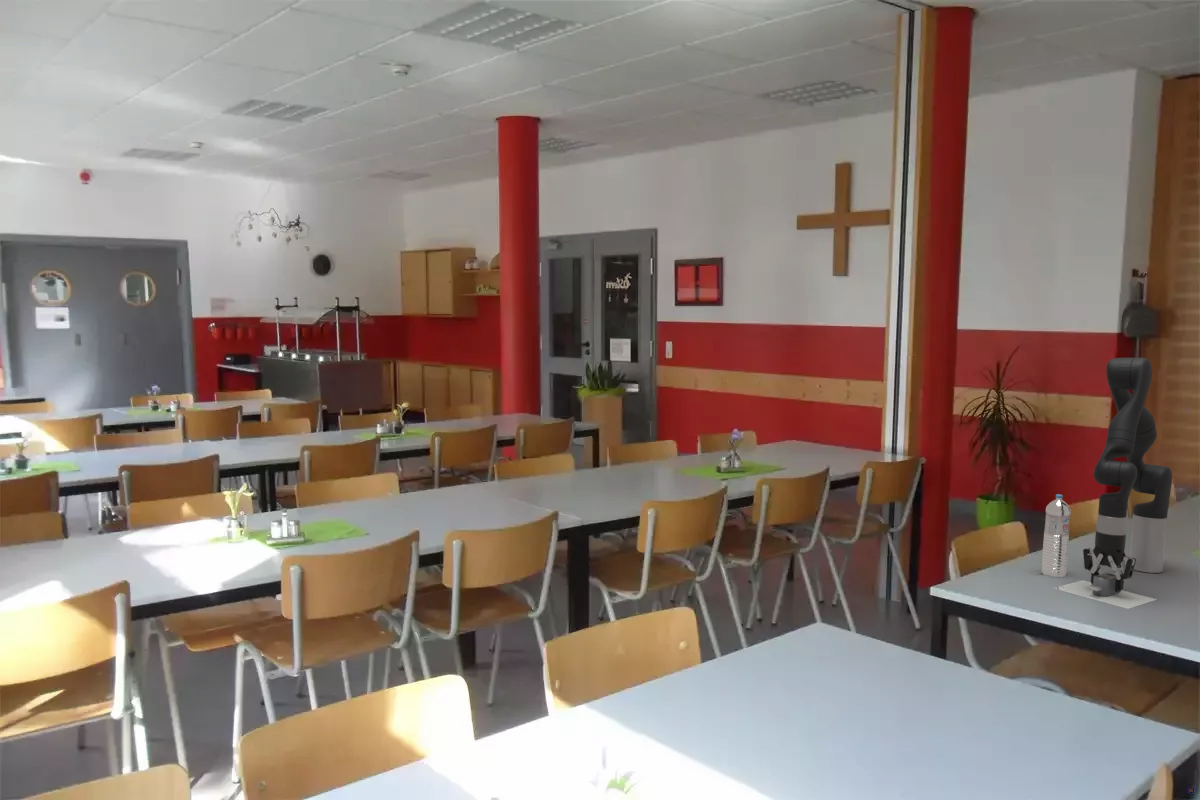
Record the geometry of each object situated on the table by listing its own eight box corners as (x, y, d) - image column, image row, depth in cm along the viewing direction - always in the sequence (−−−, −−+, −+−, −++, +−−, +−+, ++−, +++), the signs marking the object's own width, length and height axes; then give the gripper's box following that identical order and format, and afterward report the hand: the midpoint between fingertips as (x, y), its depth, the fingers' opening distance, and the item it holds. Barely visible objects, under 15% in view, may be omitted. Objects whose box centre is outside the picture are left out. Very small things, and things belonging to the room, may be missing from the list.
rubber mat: (1082, 582, 274) (1082, 580, 274) (1157, 601, 257) (1157, 599, 257) (1052, 590, 265) (1052, 588, 265) (1127, 610, 248) (1127, 608, 248)
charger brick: (1108, 588, 266) (1109, 571, 266) (1122, 592, 263) (1123, 575, 262) (1085, 595, 259) (1087, 577, 259) (1100, 599, 256) (1101, 581, 256)
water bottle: (1052, 579, 276) (1058, 497, 274) (1036, 572, 283) (1041, 493, 281) (1071, 578, 278) (1077, 496, 276) (1054, 571, 285) (1060, 492, 282)
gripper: (1144, 534, 256) (1139, 593, 258) (1092, 524, 268) (1088, 580, 269) (1130, 538, 252) (1125, 597, 253) (1078, 527, 264) (1074, 584, 265)
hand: (1106, 588), depth 261 cm, fingers open, 5 cm apart
